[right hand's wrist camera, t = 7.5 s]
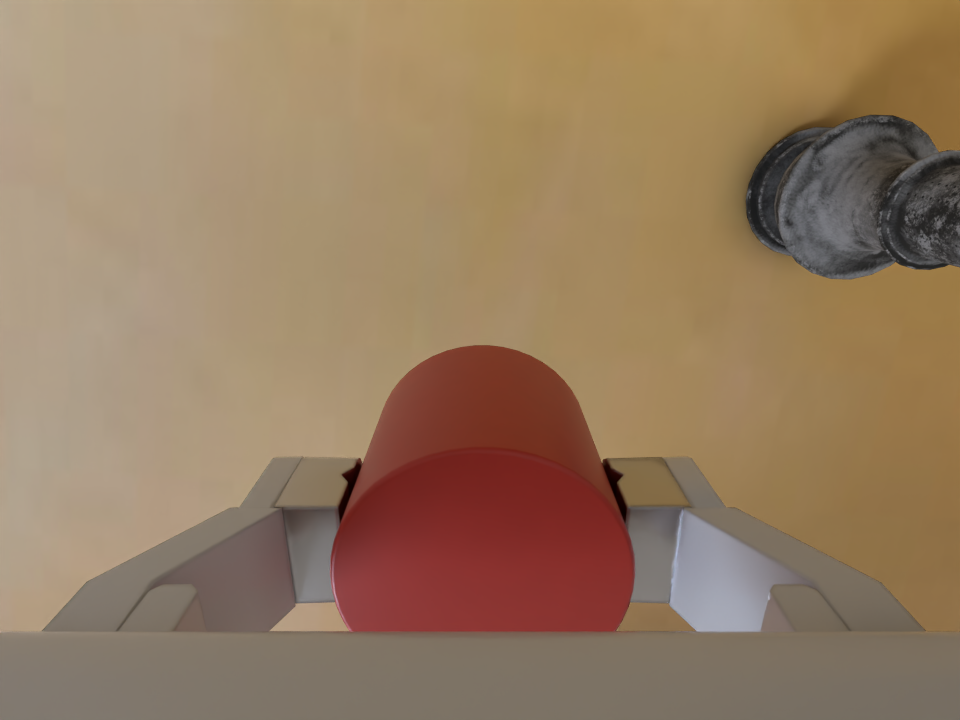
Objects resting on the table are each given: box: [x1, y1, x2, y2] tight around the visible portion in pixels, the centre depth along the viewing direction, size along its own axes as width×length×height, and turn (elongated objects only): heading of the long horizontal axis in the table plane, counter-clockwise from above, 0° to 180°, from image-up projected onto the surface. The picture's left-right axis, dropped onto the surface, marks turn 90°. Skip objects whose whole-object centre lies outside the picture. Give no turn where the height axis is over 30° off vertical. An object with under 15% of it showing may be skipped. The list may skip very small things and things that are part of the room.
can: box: [330, 345, 635, 632], centre depth 10 cm, size 4×4×4 cm
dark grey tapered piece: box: [746, 115, 960, 279], centre depth 19 cm, size 6×6×12 cm
